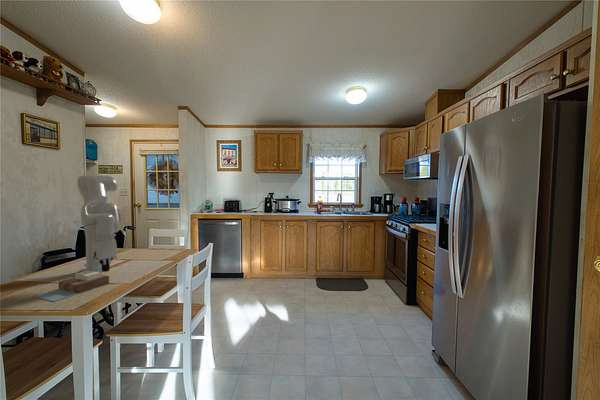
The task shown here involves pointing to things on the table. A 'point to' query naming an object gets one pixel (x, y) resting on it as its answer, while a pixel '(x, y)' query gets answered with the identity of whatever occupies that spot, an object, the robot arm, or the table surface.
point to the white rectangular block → (87, 275)
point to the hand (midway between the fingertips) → (105, 271)
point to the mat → (55, 295)
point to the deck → (83, 284)
